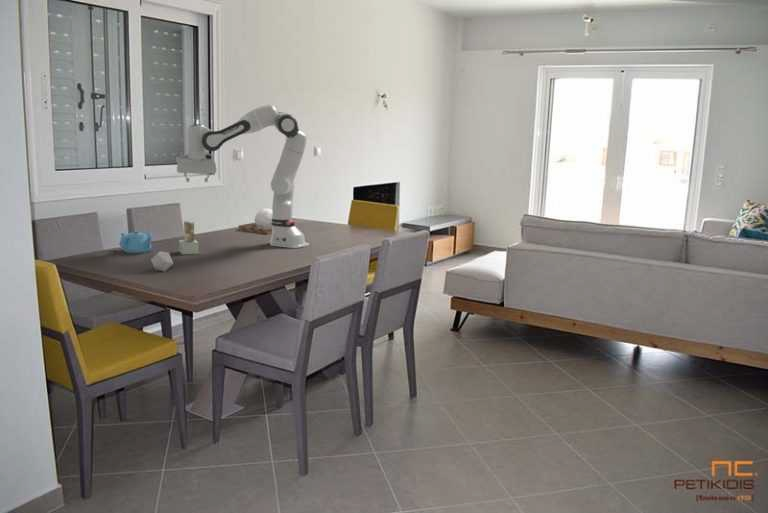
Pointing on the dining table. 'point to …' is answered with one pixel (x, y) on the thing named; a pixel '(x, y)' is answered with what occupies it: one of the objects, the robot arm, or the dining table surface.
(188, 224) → the beech block
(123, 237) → the teapot
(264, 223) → the geodesic sphere
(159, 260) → the die
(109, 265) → the dining table surface
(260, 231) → the wooden rectangular frame
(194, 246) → the sage cube
